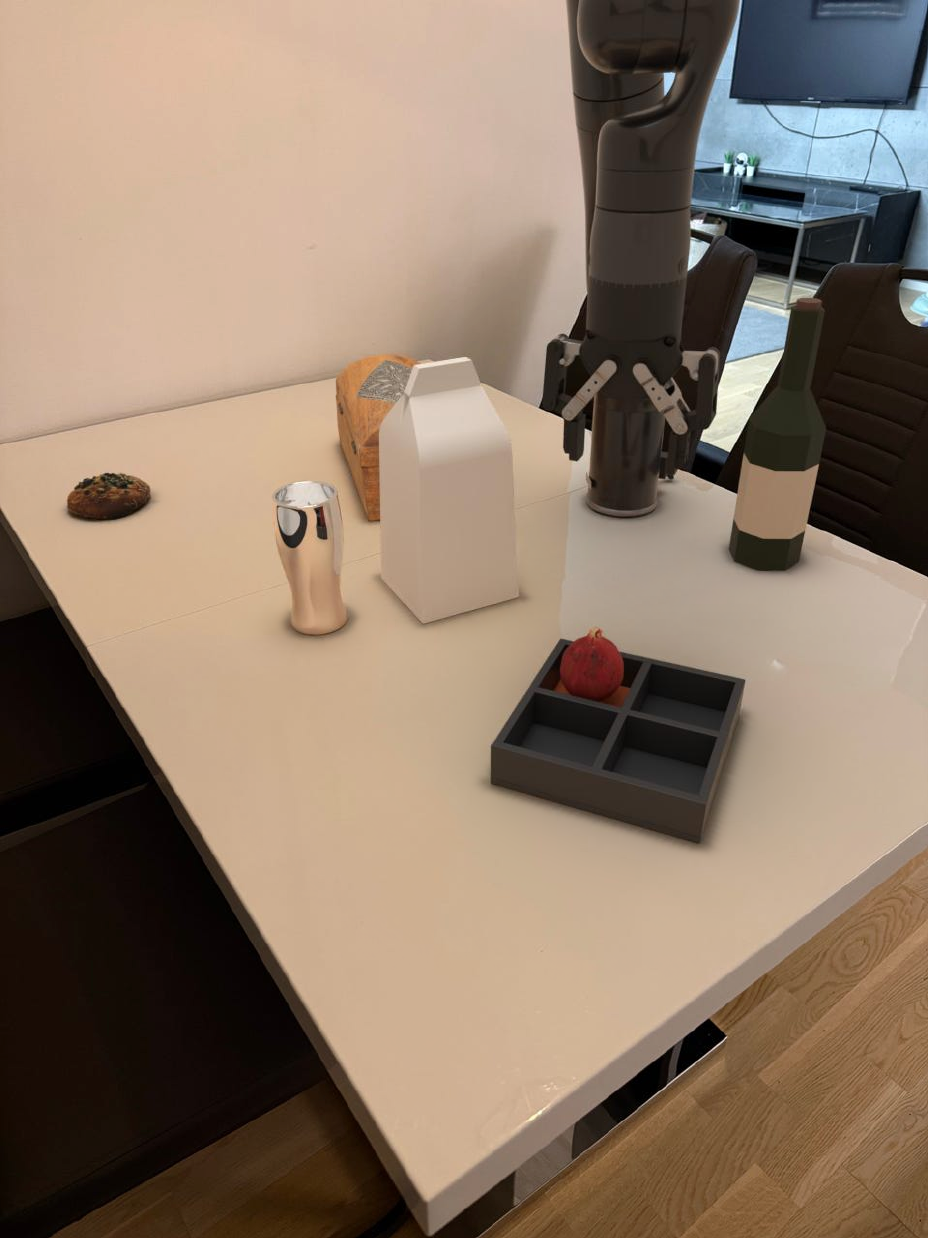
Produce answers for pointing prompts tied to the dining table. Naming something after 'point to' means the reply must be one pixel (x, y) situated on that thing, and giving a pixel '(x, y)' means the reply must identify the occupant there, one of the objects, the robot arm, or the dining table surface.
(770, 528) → the wine bottle
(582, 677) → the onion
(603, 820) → the dining table surface
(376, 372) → the wooden box
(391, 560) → the milk
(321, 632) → the beer glass
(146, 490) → the bread roll
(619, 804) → the compartment tray
